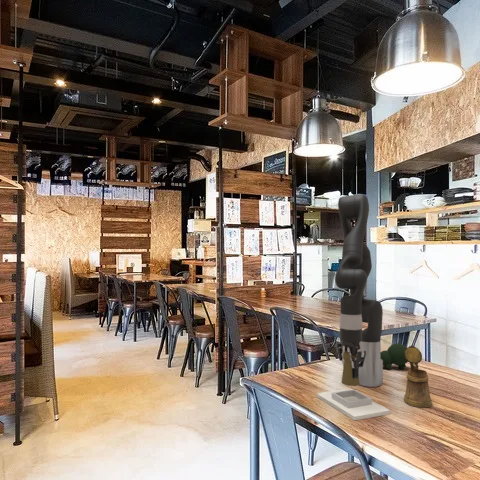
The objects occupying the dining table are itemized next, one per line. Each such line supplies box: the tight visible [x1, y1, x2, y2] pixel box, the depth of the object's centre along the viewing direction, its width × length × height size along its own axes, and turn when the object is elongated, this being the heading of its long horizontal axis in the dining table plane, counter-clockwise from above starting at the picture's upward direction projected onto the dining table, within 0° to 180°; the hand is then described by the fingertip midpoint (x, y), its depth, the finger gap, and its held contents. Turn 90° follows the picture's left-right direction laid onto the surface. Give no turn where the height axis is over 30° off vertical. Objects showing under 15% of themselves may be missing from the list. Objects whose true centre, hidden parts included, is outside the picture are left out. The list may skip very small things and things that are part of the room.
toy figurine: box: [363, 328, 409, 370], centre depth 187 cm, size 9×19×25 cm
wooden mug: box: [403, 344, 433, 409], centre depth 148 cm, size 9×14×18 cm, turn 170°
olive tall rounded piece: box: [341, 351, 360, 387], centre depth 144 cm, size 6×6×11 cm
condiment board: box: [316, 388, 391, 421], centre depth 144 cm, size 14×22×3 cm, turn 22°
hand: (350, 376), depth 144 cm, fingers closed on olive tall rounded piece, 4 cm apart
